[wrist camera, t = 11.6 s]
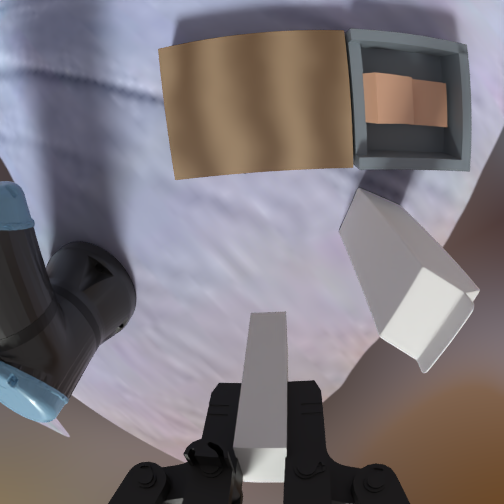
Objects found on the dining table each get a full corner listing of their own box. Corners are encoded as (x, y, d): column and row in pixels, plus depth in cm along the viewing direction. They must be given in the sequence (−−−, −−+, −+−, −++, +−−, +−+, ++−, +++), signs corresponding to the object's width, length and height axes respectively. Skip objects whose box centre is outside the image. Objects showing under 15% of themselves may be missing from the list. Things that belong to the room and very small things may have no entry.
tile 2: (365, 122, 28) (378, 123, 27) (362, 73, 26) (375, 72, 25) (400, 122, 30) (413, 123, 28) (398, 77, 28) (411, 77, 26)
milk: (338, 231, 38) (386, 369, 18) (358, 185, 35) (440, 292, 15) (381, 247, 38) (450, 381, 18) (401, 204, 35) (501, 315, 16)
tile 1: (447, 127, 28) (439, 125, 30) (445, 83, 26) (437, 83, 28) (407, 124, 29) (401, 122, 31) (405, 78, 27) (399, 79, 28)
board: (185, 171, 36) (175, 180, 32) (170, 53, 30) (158, 49, 26) (345, 160, 34) (353, 167, 30) (336, 38, 28) (344, 30, 24)
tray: (348, 160, 34) (359, 169, 29) (340, 38, 28) (350, 28, 23) (449, 161, 32) (469, 171, 28) (445, 49, 26) (466, 44, 22)
